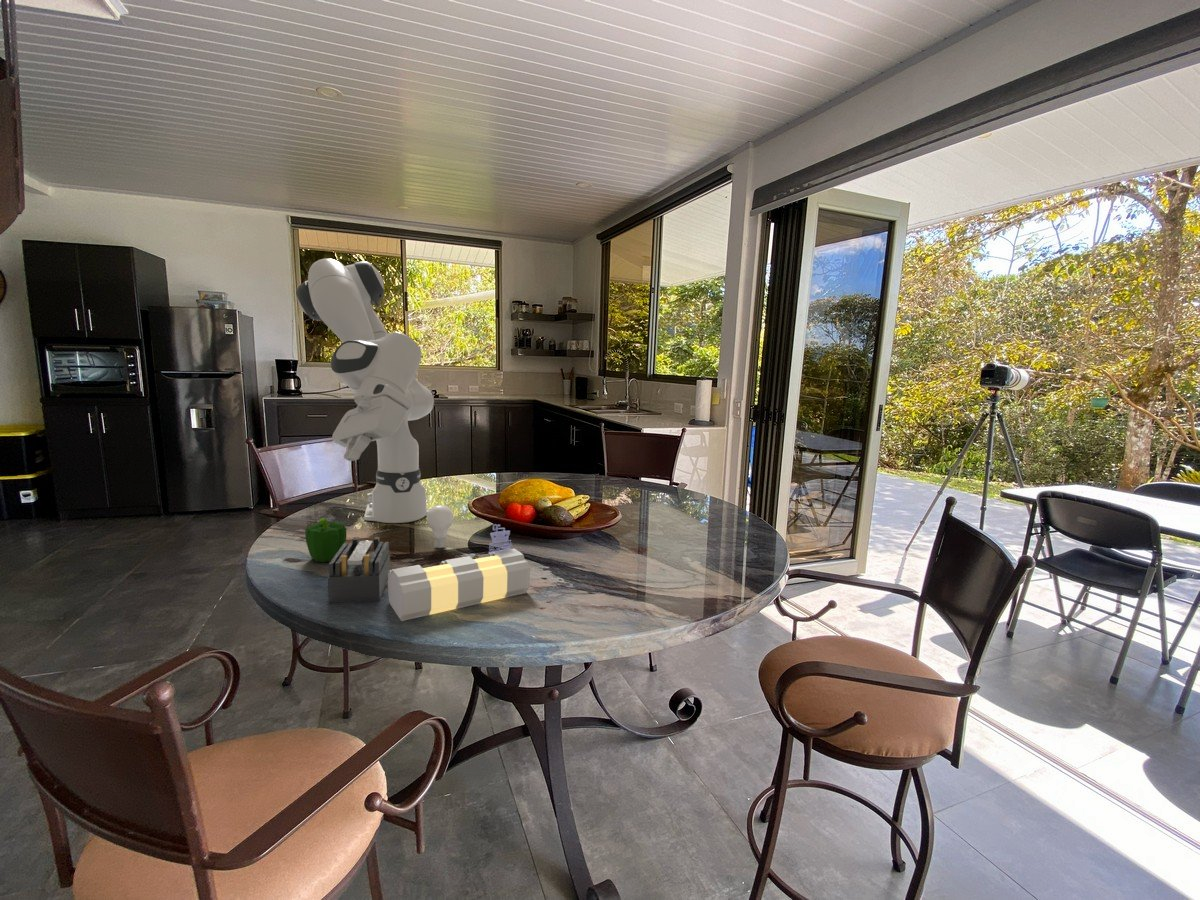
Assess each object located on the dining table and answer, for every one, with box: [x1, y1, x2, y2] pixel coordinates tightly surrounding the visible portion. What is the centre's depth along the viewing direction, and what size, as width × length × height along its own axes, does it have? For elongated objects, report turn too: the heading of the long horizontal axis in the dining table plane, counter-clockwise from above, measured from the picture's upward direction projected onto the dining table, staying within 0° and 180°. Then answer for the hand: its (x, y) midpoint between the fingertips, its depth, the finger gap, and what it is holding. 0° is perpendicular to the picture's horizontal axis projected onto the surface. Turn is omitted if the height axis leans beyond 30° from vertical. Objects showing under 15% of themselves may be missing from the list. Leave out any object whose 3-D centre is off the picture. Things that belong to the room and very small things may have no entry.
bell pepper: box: [304, 517, 347, 563], centre depth 120 cm, size 8×8×10 cm
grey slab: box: [347, 539, 374, 565], centre depth 106 cm, size 12×2×1 cm, turn 13°
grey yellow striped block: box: [387, 523, 531, 622], centre depth 103 cm, size 25×10×13 cm, turn 125°
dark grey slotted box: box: [327, 536, 391, 603], centre depth 106 cm, size 13×9×8 cm
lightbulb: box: [426, 504, 454, 550], centre depth 130 cm, size 6×6×11 cm
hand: (350, 459), depth 104 cm, fingers closed
